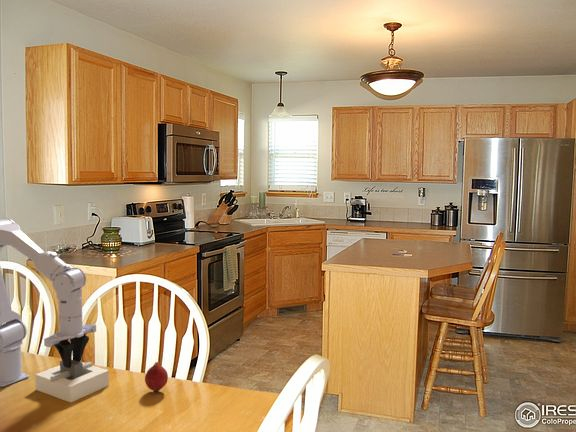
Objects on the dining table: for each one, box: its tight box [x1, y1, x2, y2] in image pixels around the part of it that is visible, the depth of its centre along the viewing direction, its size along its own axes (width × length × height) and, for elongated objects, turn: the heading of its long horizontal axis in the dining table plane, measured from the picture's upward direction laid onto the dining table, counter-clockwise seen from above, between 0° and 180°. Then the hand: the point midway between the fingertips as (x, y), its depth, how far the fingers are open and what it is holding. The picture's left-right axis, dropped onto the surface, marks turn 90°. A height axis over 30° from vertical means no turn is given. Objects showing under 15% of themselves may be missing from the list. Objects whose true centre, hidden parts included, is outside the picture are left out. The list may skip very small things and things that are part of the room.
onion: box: [144, 361, 169, 393], centre depth 139 cm, size 6×6×8 cm
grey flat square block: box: [59, 358, 84, 380], centre depth 141 cm, size 6×2×6 cm, turn 60°
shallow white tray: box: [34, 361, 110, 403], centre depth 141 cm, size 14×12×5 cm
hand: (72, 365), depth 140 cm, fingers closed on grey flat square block, 2 cm apart
